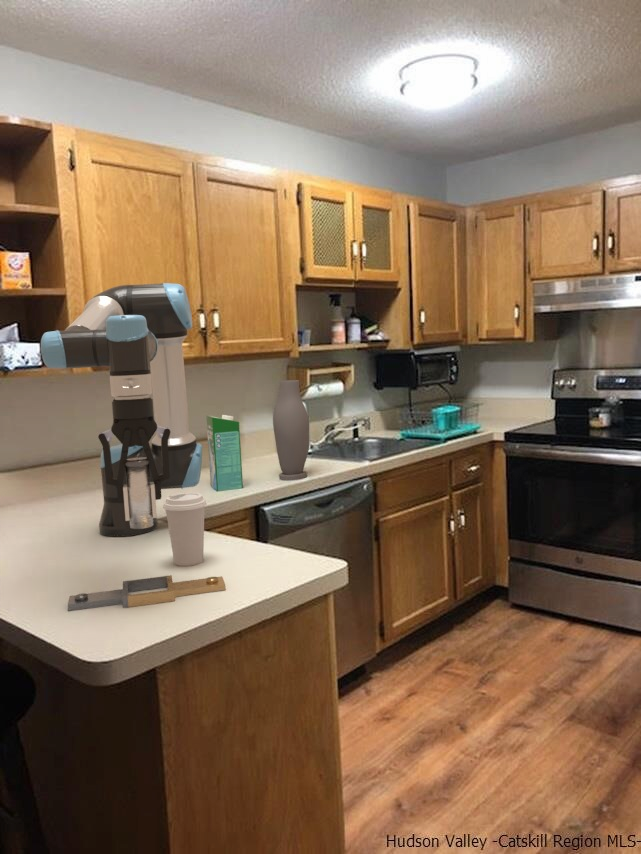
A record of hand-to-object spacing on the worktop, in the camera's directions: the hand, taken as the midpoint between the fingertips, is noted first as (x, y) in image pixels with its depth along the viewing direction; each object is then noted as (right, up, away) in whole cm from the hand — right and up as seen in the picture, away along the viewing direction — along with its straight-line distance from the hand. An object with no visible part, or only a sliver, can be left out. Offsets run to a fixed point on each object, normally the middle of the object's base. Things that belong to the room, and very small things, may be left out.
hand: (141, 517), depth 135 cm
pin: (0, -2, 0) cm, 2 cm away
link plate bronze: (+6, -15, +3) cm, 17 cm away
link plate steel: (-4, -16, +1) cm, 17 cm away
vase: (+25, -1, +117) cm, 120 cm away
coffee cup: (+5, -13, +23) cm, 27 cm away
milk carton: (+3, -3, +104) cm, 104 cm away
